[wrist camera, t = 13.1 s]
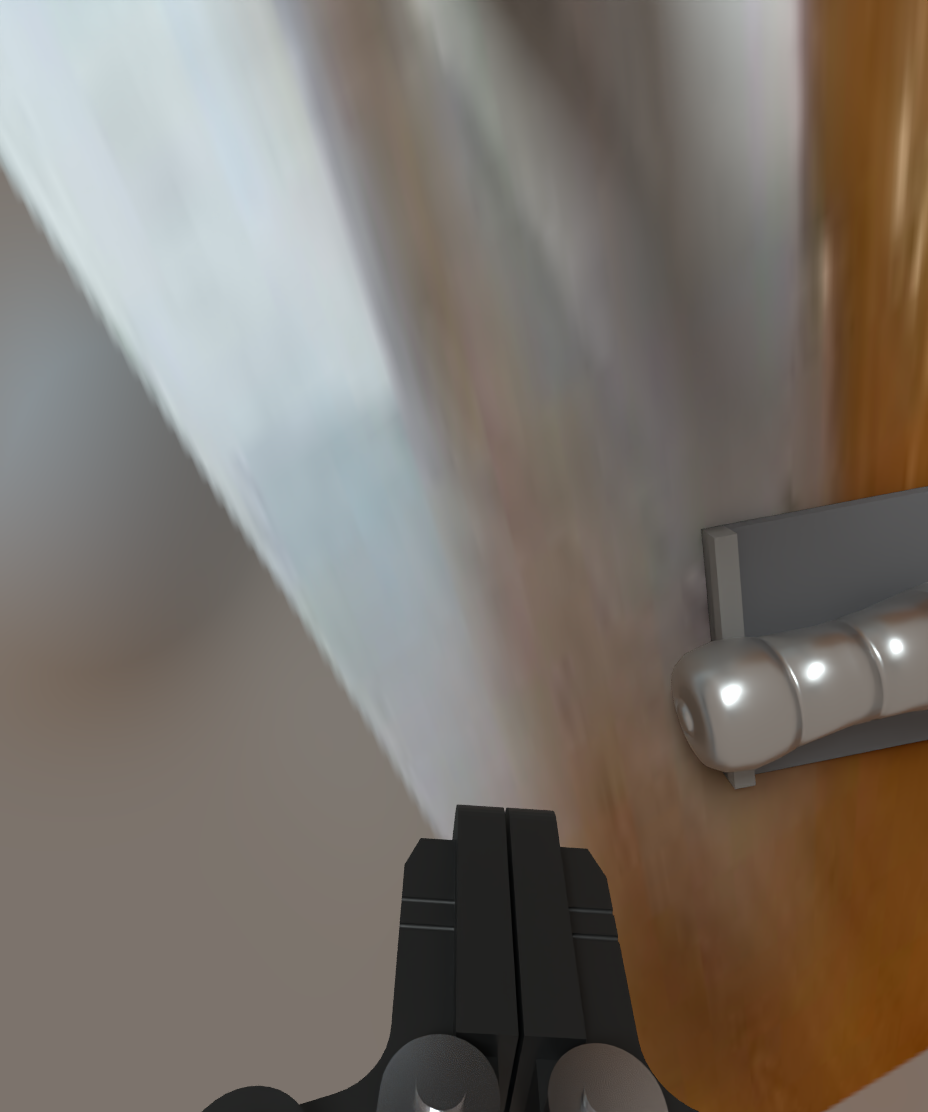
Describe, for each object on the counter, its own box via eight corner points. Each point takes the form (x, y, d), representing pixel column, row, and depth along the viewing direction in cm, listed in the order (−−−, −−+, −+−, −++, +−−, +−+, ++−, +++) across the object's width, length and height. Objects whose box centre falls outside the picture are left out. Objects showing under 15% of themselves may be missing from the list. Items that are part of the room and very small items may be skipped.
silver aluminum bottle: (655, 628, 41) (1008, 528, 43) (655, 716, 45) (977, 621, 47) (717, 722, 36) (1113, 604, 38) (710, 811, 40) (1067, 700, 42)
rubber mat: (701, 529, 43) (714, 538, 42) (953, 481, 44) (976, 488, 42) (722, 772, 48) (735, 789, 46) (952, 726, 48) (972, 741, 46)
